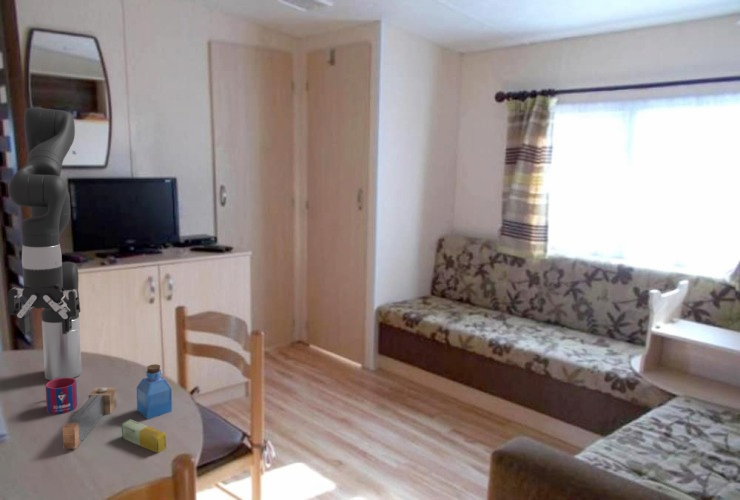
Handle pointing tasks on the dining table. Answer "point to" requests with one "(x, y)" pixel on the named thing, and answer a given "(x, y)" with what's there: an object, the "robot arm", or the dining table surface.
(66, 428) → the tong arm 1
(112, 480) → the dining table surface
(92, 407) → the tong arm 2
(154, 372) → the perfume bottle
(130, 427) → the medication box
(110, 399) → the block
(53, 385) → the mug
